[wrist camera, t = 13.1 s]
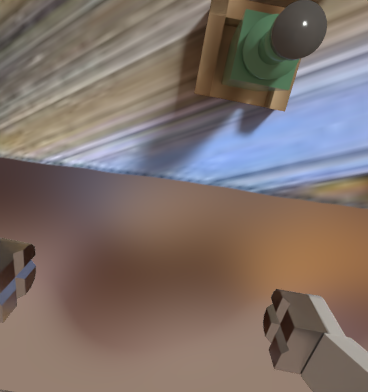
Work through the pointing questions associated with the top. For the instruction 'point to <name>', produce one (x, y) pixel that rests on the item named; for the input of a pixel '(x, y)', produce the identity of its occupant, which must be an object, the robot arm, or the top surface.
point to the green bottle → (273, 46)
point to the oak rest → (218, 49)
